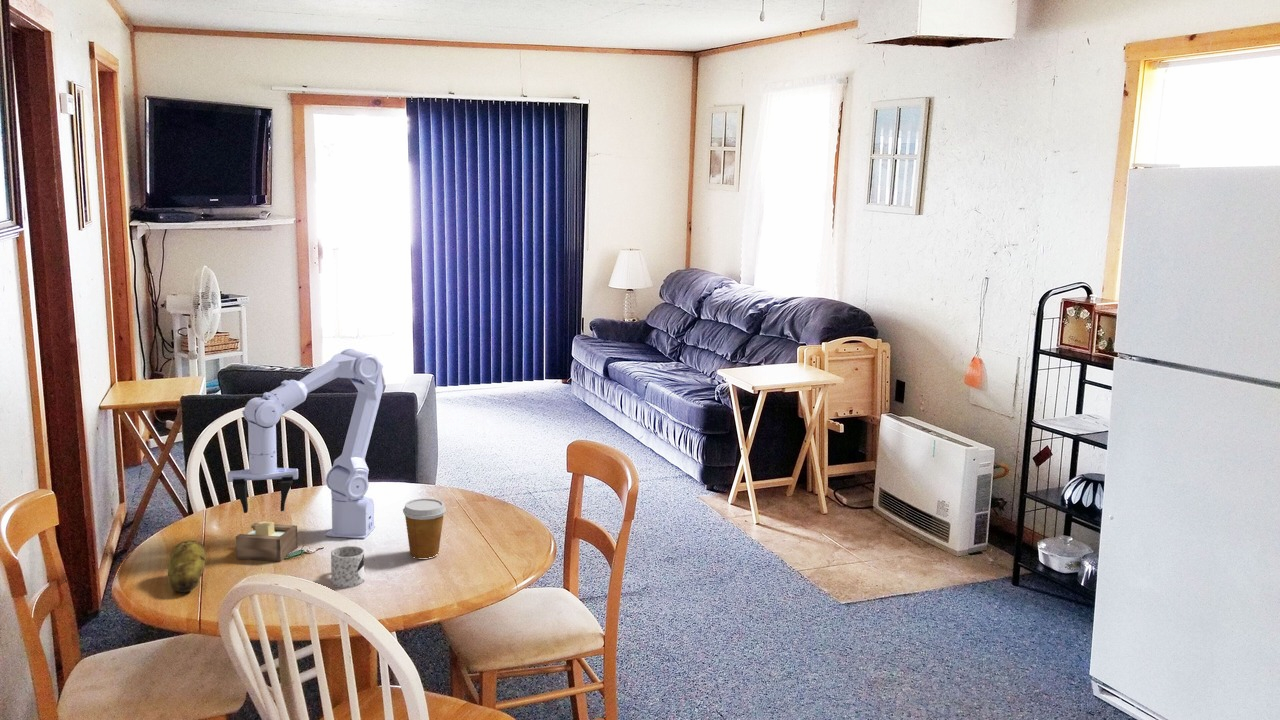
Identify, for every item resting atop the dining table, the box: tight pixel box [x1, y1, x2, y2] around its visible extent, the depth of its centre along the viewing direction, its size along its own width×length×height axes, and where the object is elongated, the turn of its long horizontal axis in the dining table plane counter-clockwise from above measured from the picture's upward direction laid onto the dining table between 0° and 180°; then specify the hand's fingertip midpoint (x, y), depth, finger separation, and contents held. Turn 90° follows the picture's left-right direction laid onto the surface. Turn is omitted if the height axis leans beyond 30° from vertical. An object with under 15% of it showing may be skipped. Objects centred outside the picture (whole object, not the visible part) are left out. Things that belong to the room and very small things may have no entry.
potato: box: [167, 539, 207, 593], centre depth 198 cm, size 8×13×8 cm, turn 4°
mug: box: [330, 545, 365, 589], centre depth 204 cm, size 10×7×7 cm, turn 21°
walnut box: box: [235, 522, 298, 563], centre depth 216 cm, size 10×9×5 cm
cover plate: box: [247, 521, 286, 536], centre depth 216 cm, size 8×6×4 cm
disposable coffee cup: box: [402, 498, 447, 559], centre depth 219 cm, size 10×10×12 cm
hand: (264, 510), depth 215 cm, fingers open, 7 cm apart
